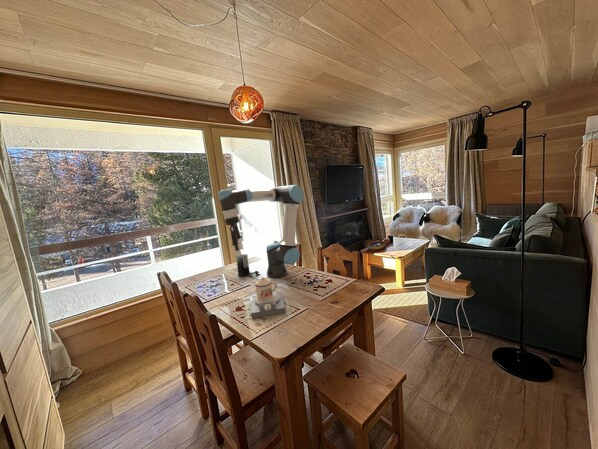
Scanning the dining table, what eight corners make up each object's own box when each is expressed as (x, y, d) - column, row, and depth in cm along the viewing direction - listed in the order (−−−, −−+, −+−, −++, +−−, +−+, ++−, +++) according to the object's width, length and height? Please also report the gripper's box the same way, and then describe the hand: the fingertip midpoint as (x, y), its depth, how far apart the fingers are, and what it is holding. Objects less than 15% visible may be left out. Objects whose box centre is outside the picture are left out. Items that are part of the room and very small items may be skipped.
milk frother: (237, 273, 197) (235, 255, 194) (258, 270, 201) (255, 251, 198) (238, 279, 183) (235, 260, 181) (260, 275, 187) (257, 256, 185)
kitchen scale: (253, 301, 146) (251, 290, 145) (282, 296, 148) (281, 286, 147) (251, 318, 127) (250, 307, 126) (285, 313, 129) (284, 301, 128)
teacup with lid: (260, 303, 133) (257, 282, 131) (254, 297, 141) (251, 277, 139) (280, 296, 139) (278, 276, 137) (274, 291, 147) (271, 272, 145)
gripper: (227, 215, 154) (235, 248, 158) (220, 221, 130) (230, 260, 134) (239, 212, 155) (247, 245, 159) (235, 218, 131) (245, 257, 135)
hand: (240, 252), depth 146 cm, fingers open, 13 cm apart
